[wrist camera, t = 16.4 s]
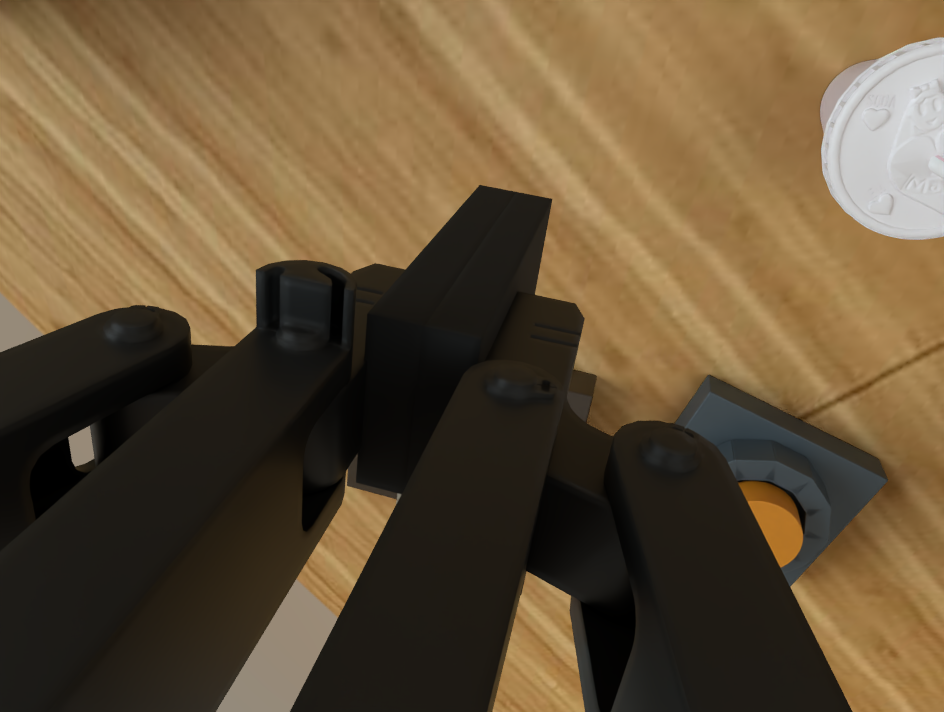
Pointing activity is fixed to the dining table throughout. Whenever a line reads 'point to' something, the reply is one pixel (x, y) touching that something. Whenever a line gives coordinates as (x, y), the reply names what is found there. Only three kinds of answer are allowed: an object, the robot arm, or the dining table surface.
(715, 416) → the grey button base
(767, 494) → the bell button
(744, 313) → the dining table surface
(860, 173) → the smoothie
